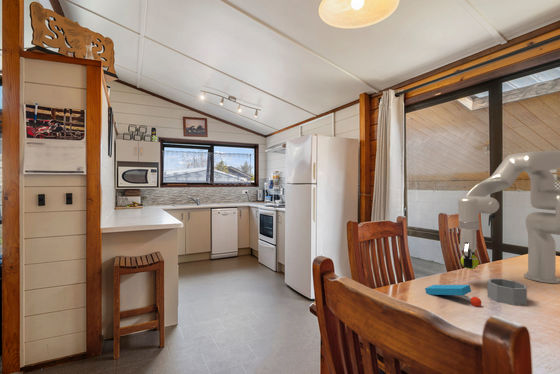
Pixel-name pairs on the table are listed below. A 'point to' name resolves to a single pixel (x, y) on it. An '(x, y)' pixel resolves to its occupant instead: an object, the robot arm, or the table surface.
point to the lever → (453, 292)
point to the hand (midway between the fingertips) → (469, 265)
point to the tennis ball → (474, 261)
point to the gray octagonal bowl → (507, 291)
